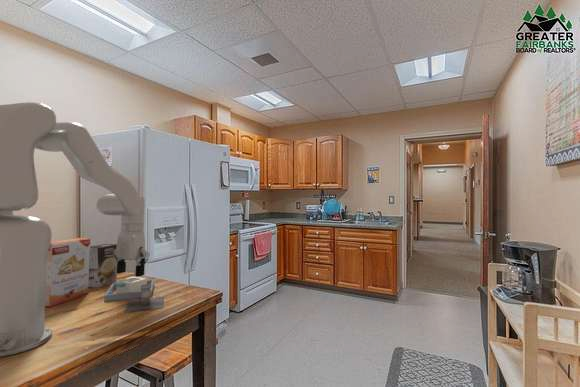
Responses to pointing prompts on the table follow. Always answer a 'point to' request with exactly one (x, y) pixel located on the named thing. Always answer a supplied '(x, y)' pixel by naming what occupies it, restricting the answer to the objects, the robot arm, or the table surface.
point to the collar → (130, 284)
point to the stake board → (143, 308)
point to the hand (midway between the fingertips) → (130, 274)
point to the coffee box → (102, 265)
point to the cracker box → (67, 270)
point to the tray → (128, 295)
